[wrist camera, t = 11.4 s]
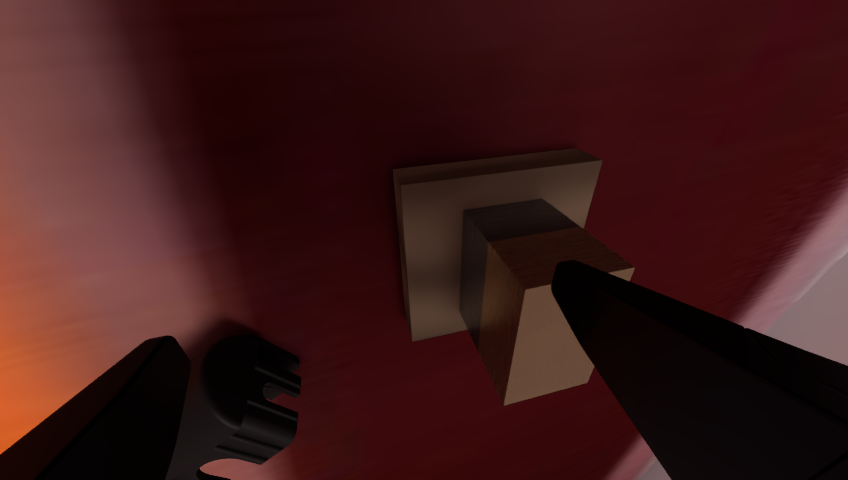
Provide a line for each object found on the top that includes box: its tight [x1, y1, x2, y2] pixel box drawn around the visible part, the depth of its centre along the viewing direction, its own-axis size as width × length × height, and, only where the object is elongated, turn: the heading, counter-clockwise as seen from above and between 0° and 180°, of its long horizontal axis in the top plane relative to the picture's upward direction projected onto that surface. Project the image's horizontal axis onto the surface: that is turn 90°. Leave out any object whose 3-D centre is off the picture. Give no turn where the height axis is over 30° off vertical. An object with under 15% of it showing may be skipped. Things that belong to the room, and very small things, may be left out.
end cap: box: [165, 335, 301, 480], centre depth 21 cm, size 10×7×7 cm
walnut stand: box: [393, 148, 602, 342], centre depth 22 cm, size 12×12×2 cm
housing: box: [459, 198, 635, 405], centre depth 18 cm, size 5×8×7 cm, turn 2°
